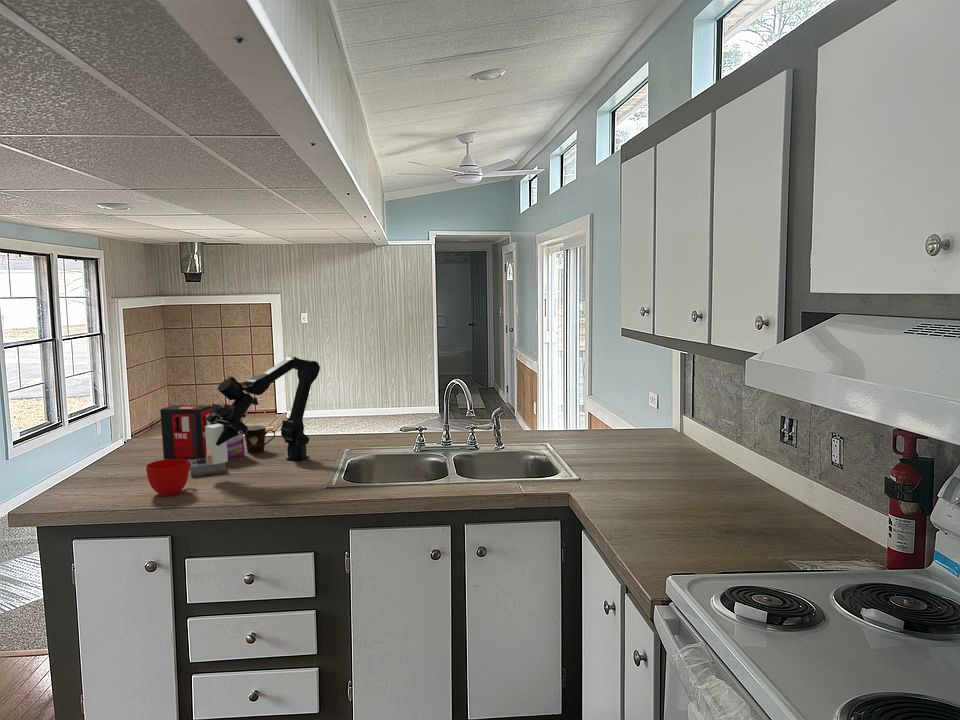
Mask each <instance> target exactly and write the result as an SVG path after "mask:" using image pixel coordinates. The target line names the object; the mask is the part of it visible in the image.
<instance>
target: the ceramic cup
mask: <svg viewBox="0 0 960 720" xmlns="http://www.w3.org/2000/svg"><path fill="white" fill-rule="evenodd" d="M188 460H189V459H160V460H156V461H152V462H150V463H148V464H147V465H146V467H145V468H146V469H145V470H146V476H147V479H148V483H149V485H150V487H151V489H152V490H153V491H154V492H155V493H157V494H158V495H159V496H163V497H169V496H170V497H171V496H174V495H178V494H179V492H180V491H182V490H183V489H184V487H185V486H186V484H187V482H188V480H189V475H190V471H189V469H190V462H189V461H188ZM177 493H178V494H177ZM180 493H181V492H180Z"/></svg>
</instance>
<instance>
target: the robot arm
mask: <svg viewBox="0 0 960 720" xmlns="http://www.w3.org/2000/svg"><path fill="white" fill-rule="evenodd" d="M293 369H294V370H296V371H297V373H296V374H297V378H298V379H297V380H298V383H297V388H296V390H295V391H296V392H295V395H294V400H293V403H292V406H291V410H290V414H289V417H288V418H287V419H283V420H282V423H281V427H280V429H279V431H280V436H281V437H282V438H283V439H284V442H285V443H286V444H287V449H286V450H287V457H286V459H285V460H286V461H296V462H300V461H304V460H305V459H308V458H310V455H308V454H307V445H309V443H310V437H309V436H308V435H306V434H305V431H304V430H305V425H304V421H303V418H304V415H305V410H306V407H307V402H308V398H309V395H310V391H311V388H312V384H313V383H314V381H315V380H316V379H317V378H318V375H319V373H320V371H321V366H320V363H319V362H317V360H308V359H301V358H298V357H297V356H286V357H285V359H283V360H282V361H280V362H278V363H277V364H276V365H274V366H273V367H270V368H269V369H268V370H266V371H265V372H263V373H261V374H258V375H254V376H251V377H249V378H246V380H244V382H241V383H239V382H238V380H237V379H236V378H235V377H233V376H228V378H227V379H226V378H225V379H224V380H223V381H222V382H220V383H219V385H218V386H217V387H218V388H217V390H218V391H219V392H220V393H221V394H222V395H223V396H224V397H225V398H227V399H228V400H229V401H233V402H232V403H231V405H230V404H228V403H223V404H221V405H220V404H217V403H212V404H211V409H210V412H211V413H213V414H211V415H209V416H208V417H207V418H206V420H207V421H209V422H210V423H211V425H213V424H222V425H224V430H223V432H222V434H221V435H220V437H219V439H218V440H217V442H216V445H217V446H219V445H221V444H222V443H224V442H226V441H227V440H229V439H231V438H233V437H235V436H237V435H239V433H238V432H239V431H240V433H241V434H243V436H245V434H246V433H247V431H248V425H246V424H245V423H244V422H243V420H242V421H240V420H241V418H242V419H243V418H244V419H245V418H246V416H247V414H246V412H247V411H248V410H249V408H250V407H251V406H252V405H253V406H258V405H259V402H258V397H254V396H252V395H255V396H261V395H262V394H264V393H265V392H266V391H267V390H268V389H269V388H270V385H271V384H273V382H275V381H277V380H278V379H279V378H281V377H282V376H284V375H285V374H287V373H289V372H290V371H291V370H293ZM221 418H222V419H221Z"/></svg>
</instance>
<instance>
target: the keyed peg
mask: <svg viewBox="0 0 960 720" xmlns="http://www.w3.org/2000/svg"><path fill="white" fill-rule="evenodd" d="M223 430H224V425H222V424H213V425H208V426H205V435H206V450H207V456H206V464H219V463H223V462H225V463H227V462H229V459H228V456H227V441H226V442H224V443H222V444H221V445H219V446H217V445H216V442H217V440H218V439H219V437H220V435H221V434H222V432H223Z"/></svg>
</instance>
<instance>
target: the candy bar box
mask: <svg viewBox="0 0 960 720" xmlns="http://www.w3.org/2000/svg"><path fill="white" fill-rule="evenodd" d="M221 419H222V418H221ZM240 421H242V422H243V417H242V418H241V420H240ZM238 433H239V435H237V436H235V437H233V438H231V439H229V440H227V456H228V460H230V458H231V459H234V457H235V458H239V457H242V455H243V456H245V444H244V434H241V433H240V431H239V432H238ZM238 456H239V457H238Z"/></svg>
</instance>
